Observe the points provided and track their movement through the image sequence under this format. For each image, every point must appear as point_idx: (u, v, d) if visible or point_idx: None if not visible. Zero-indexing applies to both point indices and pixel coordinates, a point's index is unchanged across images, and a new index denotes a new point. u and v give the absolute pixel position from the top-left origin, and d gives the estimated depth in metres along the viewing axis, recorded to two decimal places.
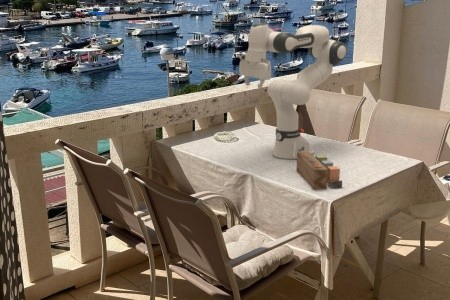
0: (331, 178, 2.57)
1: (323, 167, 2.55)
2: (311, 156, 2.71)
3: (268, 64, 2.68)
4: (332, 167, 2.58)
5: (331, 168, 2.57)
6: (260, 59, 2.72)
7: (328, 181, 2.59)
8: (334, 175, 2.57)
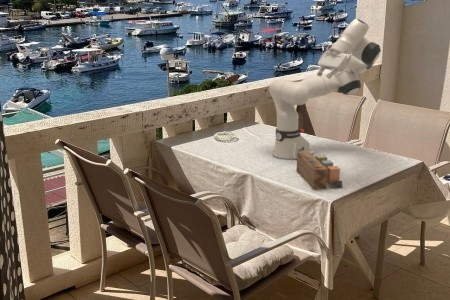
0: (331, 178, 2.57)
1: (323, 167, 2.55)
2: (311, 156, 2.71)
3: (349, 55, 2.46)
4: (332, 167, 2.58)
5: (331, 168, 2.57)
6: (344, 51, 2.51)
7: (328, 181, 2.59)
8: (334, 175, 2.57)
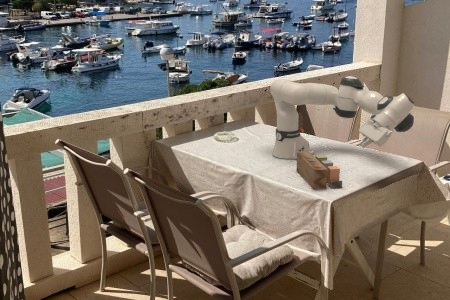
0: (331, 178, 2.57)
1: (323, 167, 2.55)
2: (311, 156, 2.71)
3: (390, 132, 2.47)
4: (332, 167, 2.58)
5: (331, 168, 2.57)
6: (386, 125, 2.52)
7: (328, 181, 2.59)
8: (334, 175, 2.57)
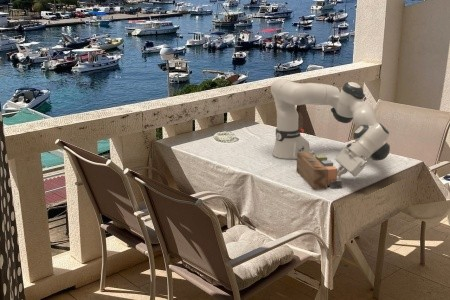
0: (329, 178, 2.57)
1: (323, 167, 2.55)
2: (311, 156, 2.71)
3: (364, 162, 2.49)
4: (329, 167, 2.58)
5: (329, 168, 2.57)
6: (360, 155, 2.54)
7: None
8: (332, 175, 2.57)
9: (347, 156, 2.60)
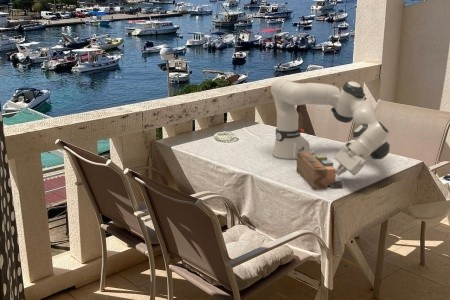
0: (327, 178, 2.57)
1: (323, 167, 2.55)
2: (311, 156, 2.71)
3: (363, 161, 2.48)
4: (328, 168, 2.58)
5: (327, 168, 2.57)
6: (360, 153, 2.53)
7: None
8: (330, 175, 2.57)
9: (346, 155, 2.60)
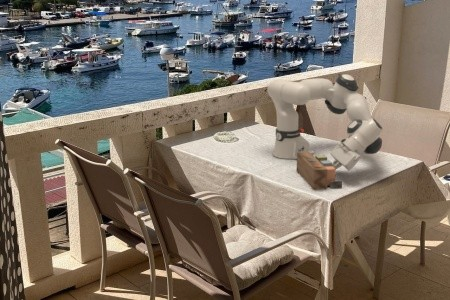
0: (327, 178, 2.57)
1: (323, 167, 2.55)
2: (311, 156, 2.71)
3: (358, 156, 2.57)
4: (328, 168, 2.58)
5: (327, 168, 2.57)
6: (354, 149, 2.62)
7: None
8: (330, 175, 2.57)
9: (342, 151, 2.69)
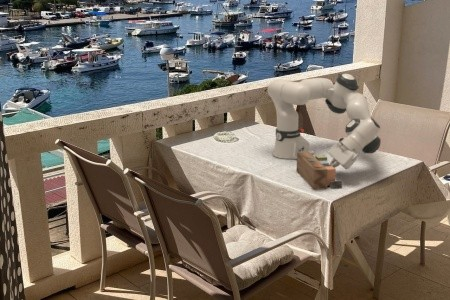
0: (327, 178, 2.57)
1: (323, 167, 2.55)
2: (311, 156, 2.71)
3: (355, 155, 2.57)
4: (328, 168, 2.58)
5: (327, 168, 2.57)
6: (352, 148, 2.61)
7: None
8: (330, 175, 2.57)
9: (339, 150, 2.68)
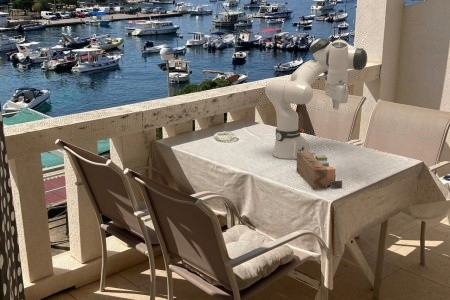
0: (327, 178, 2.57)
1: (323, 167, 2.55)
2: (311, 156, 2.71)
3: (344, 87, 2.54)
4: (328, 168, 2.58)
5: (327, 168, 2.57)
6: (338, 81, 2.59)
7: None
8: (330, 175, 2.57)
9: (331, 87, 2.67)
